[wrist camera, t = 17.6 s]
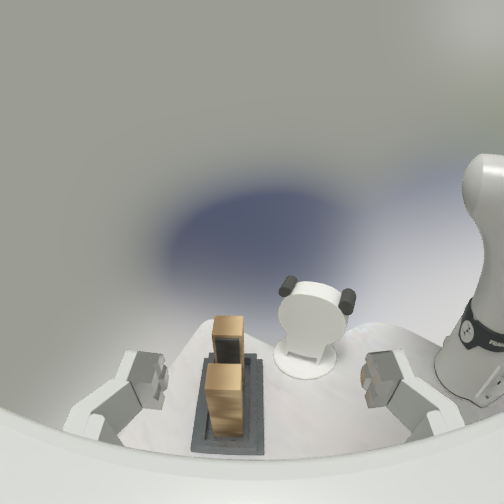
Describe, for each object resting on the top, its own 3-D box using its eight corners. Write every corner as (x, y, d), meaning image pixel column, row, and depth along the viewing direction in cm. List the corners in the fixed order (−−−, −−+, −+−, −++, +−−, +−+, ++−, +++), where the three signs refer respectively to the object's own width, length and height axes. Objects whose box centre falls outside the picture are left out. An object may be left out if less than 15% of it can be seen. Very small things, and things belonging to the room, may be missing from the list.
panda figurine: (344, 343, 55) (360, 277, 48) (331, 387, 46) (350, 320, 39) (285, 328, 59) (290, 262, 52) (263, 369, 50) (266, 300, 43)
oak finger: (243, 412, 41) (241, 361, 35) (242, 437, 37) (240, 390, 32) (216, 411, 41) (208, 360, 35) (214, 436, 37) (204, 389, 32)
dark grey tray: (262, 363, 51) (262, 353, 50) (263, 454, 36) (264, 448, 34) (204, 361, 51) (203, 352, 50) (191, 451, 36) (188, 444, 34)
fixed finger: (244, 370, 49) (243, 316, 43) (243, 390, 45) (242, 337, 39) (220, 369, 49) (214, 315, 43) (218, 390, 45) (211, 336, 39)
